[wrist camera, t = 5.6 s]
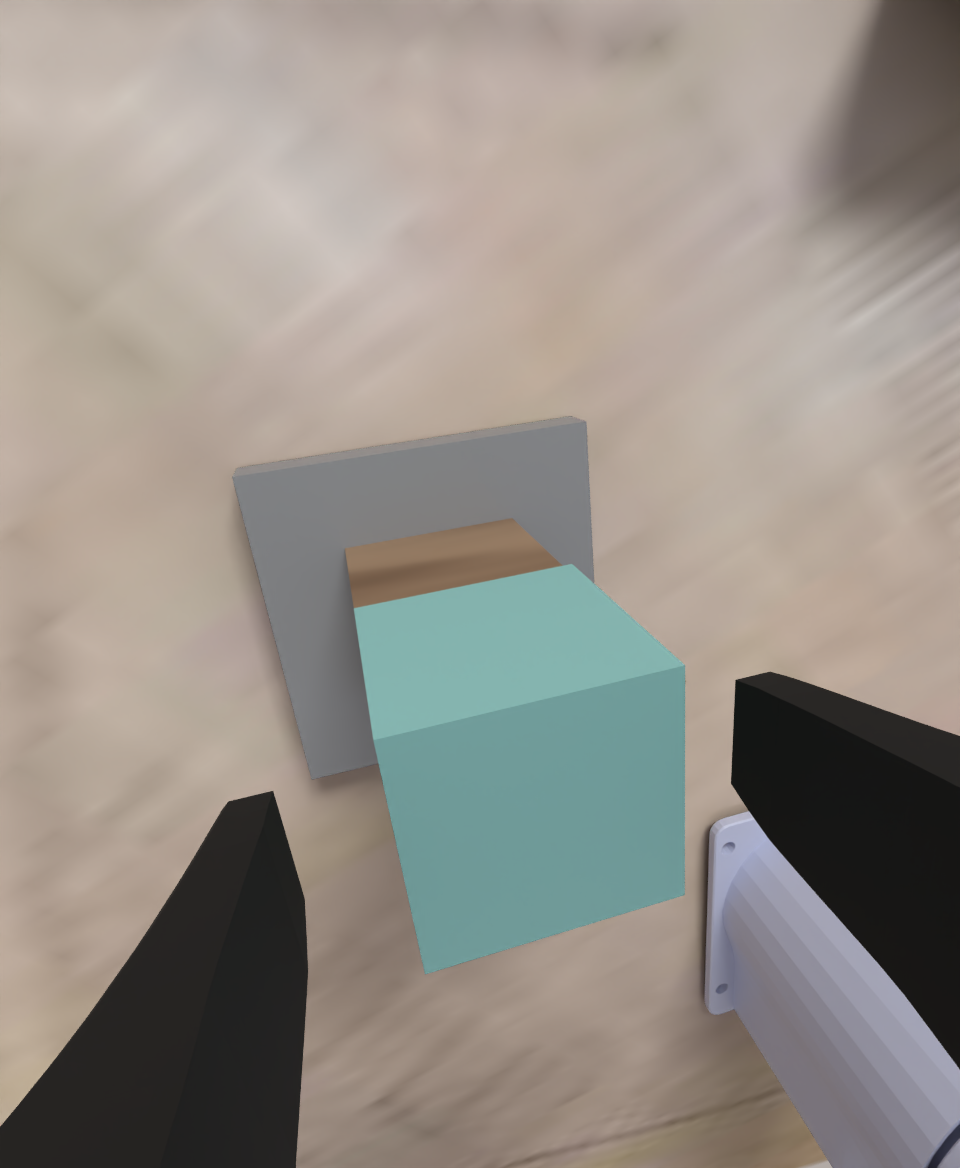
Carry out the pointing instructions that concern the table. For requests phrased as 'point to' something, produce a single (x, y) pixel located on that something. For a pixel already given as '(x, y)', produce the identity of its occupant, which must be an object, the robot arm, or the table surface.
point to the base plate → (386, 512)
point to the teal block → (525, 759)
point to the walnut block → (442, 561)
